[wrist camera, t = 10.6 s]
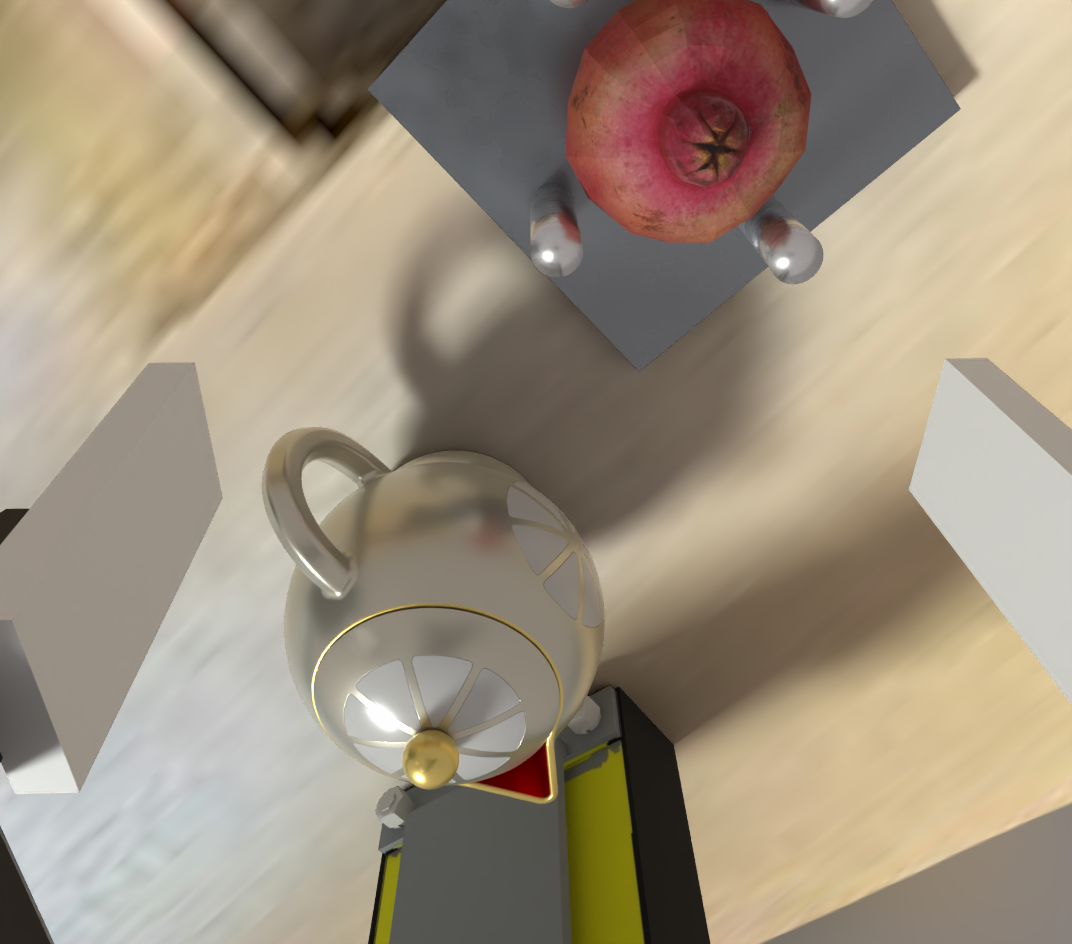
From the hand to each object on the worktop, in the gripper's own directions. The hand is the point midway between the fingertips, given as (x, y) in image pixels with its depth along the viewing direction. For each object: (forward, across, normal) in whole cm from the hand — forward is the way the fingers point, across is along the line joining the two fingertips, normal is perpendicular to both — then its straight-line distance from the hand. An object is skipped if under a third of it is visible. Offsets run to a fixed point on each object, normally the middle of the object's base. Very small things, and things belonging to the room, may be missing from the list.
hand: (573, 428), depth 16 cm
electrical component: (+23, 0, -37) cm, 44 cm away
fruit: (+22, +5, +2) cm, 23 cm away
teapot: (+23, -4, -16) cm, 29 cm away
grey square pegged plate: (+23, +5, +2) cm, 24 cm away
